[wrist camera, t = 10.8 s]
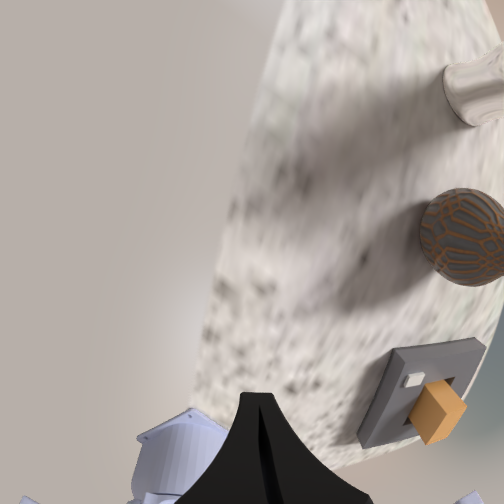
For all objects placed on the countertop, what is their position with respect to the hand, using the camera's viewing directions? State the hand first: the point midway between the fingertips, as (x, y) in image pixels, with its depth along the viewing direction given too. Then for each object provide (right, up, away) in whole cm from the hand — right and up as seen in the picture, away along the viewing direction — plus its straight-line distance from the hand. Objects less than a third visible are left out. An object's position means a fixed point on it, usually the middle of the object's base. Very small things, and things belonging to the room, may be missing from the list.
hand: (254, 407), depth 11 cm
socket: (+18, -8, +12) cm, 23 cm away
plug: (+18, -8, +12) cm, 23 cm away
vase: (+15, +9, +8) cm, 19 cm away
